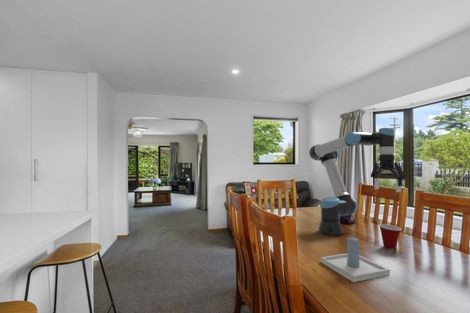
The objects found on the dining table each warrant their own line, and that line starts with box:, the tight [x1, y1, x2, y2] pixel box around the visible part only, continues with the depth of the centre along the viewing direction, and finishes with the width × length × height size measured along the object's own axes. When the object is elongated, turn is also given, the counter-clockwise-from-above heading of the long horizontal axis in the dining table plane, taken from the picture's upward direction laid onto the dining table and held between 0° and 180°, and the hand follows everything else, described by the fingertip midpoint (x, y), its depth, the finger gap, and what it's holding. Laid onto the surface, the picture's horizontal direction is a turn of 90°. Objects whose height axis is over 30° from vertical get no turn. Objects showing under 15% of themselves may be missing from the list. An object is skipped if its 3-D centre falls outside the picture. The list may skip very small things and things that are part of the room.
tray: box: [320, 252, 391, 283], centre depth 107 cm, size 20×20×2 cm
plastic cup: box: [378, 223, 403, 250], centre depth 132 cm, size 11×11×12 cm
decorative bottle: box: [340, 215, 357, 224], centre depth 188 cm, size 22×21×25 cm
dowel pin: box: [346, 237, 360, 268], centre depth 107 cm, size 5×5×12 cm
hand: (387, 190), depth 136 cm, fingers open, 13 cm apart
